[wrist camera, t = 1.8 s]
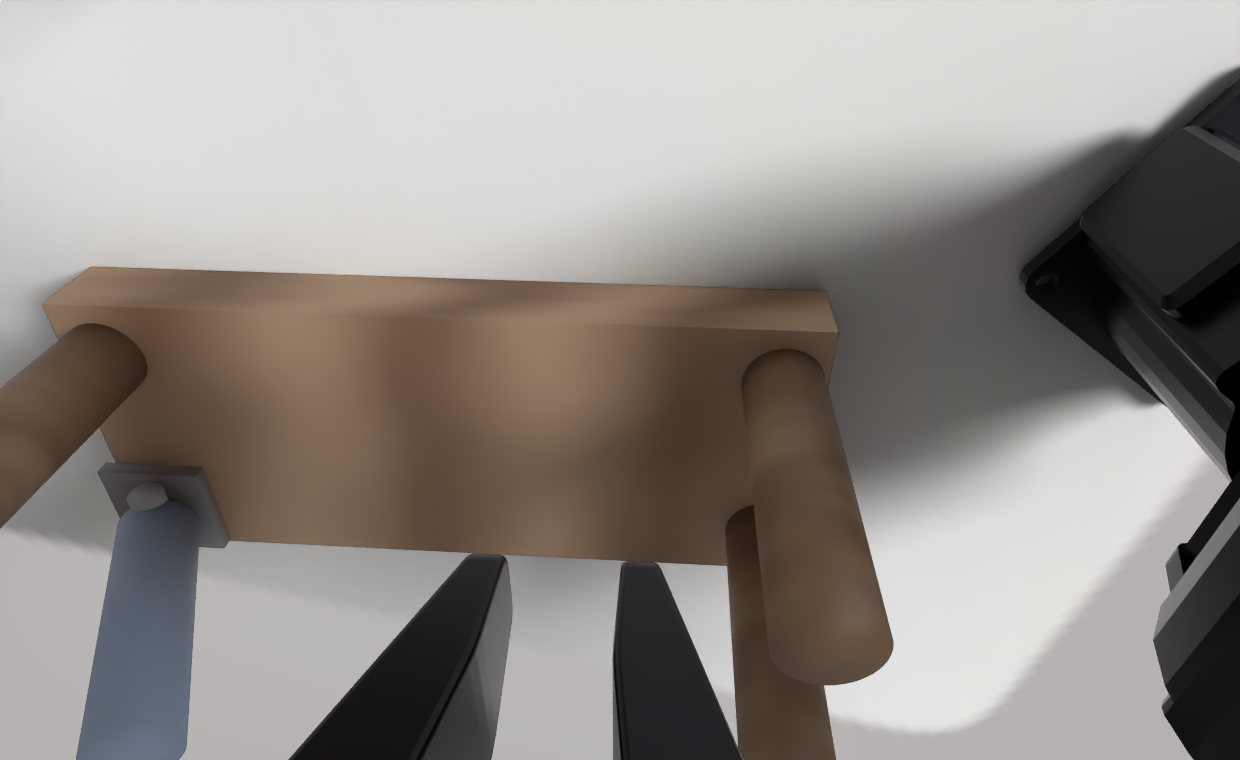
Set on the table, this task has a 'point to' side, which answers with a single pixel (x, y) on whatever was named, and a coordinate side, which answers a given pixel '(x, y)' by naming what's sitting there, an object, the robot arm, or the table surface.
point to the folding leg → (145, 635)
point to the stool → (487, 439)
